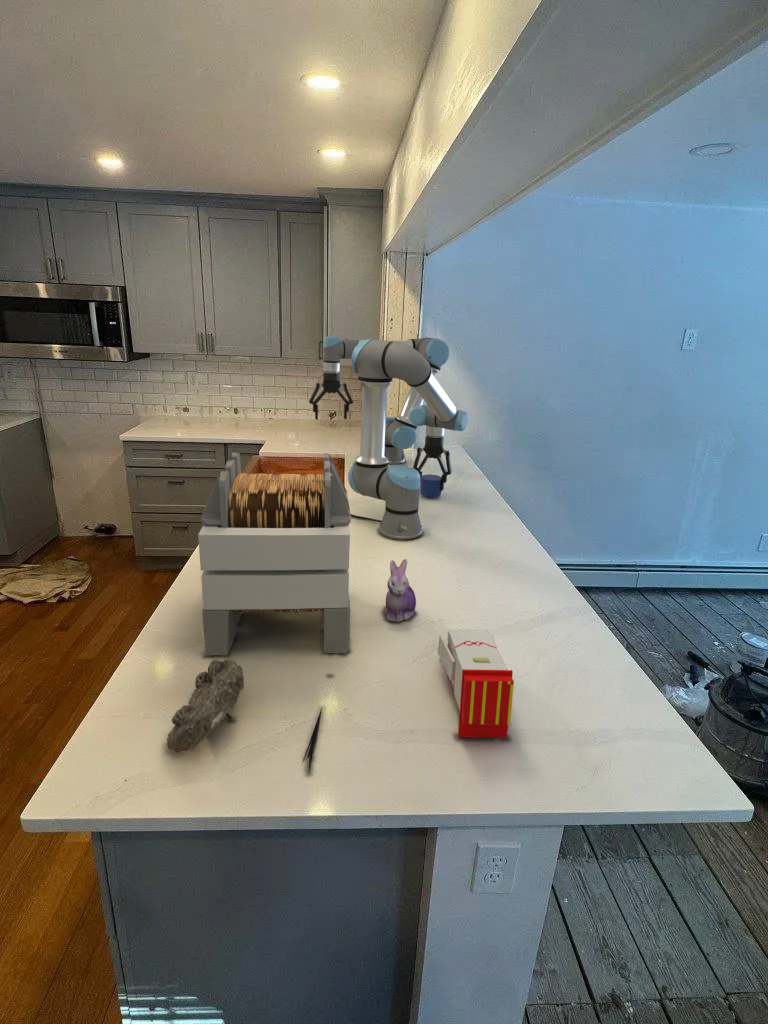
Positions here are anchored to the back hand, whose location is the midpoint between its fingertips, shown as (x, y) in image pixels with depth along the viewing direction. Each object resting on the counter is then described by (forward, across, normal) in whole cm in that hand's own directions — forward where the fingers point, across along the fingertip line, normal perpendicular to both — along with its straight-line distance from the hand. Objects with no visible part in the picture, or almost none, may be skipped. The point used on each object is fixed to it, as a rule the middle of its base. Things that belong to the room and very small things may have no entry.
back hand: (330, 418), depth 264 cm
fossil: (+25, -55, -166) cm, 176 cm away
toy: (+25, -3, -170) cm, 171 cm away
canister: (+24, +34, -45) cm, 61 cm away
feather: (+25, -35, -171) cm, 176 cm away
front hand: (+21, +34, -45) cm, 60 cm away
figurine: (+25, -8, -136) cm, 139 cm away
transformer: (+25, -38, -132) cm, 139 cm away
